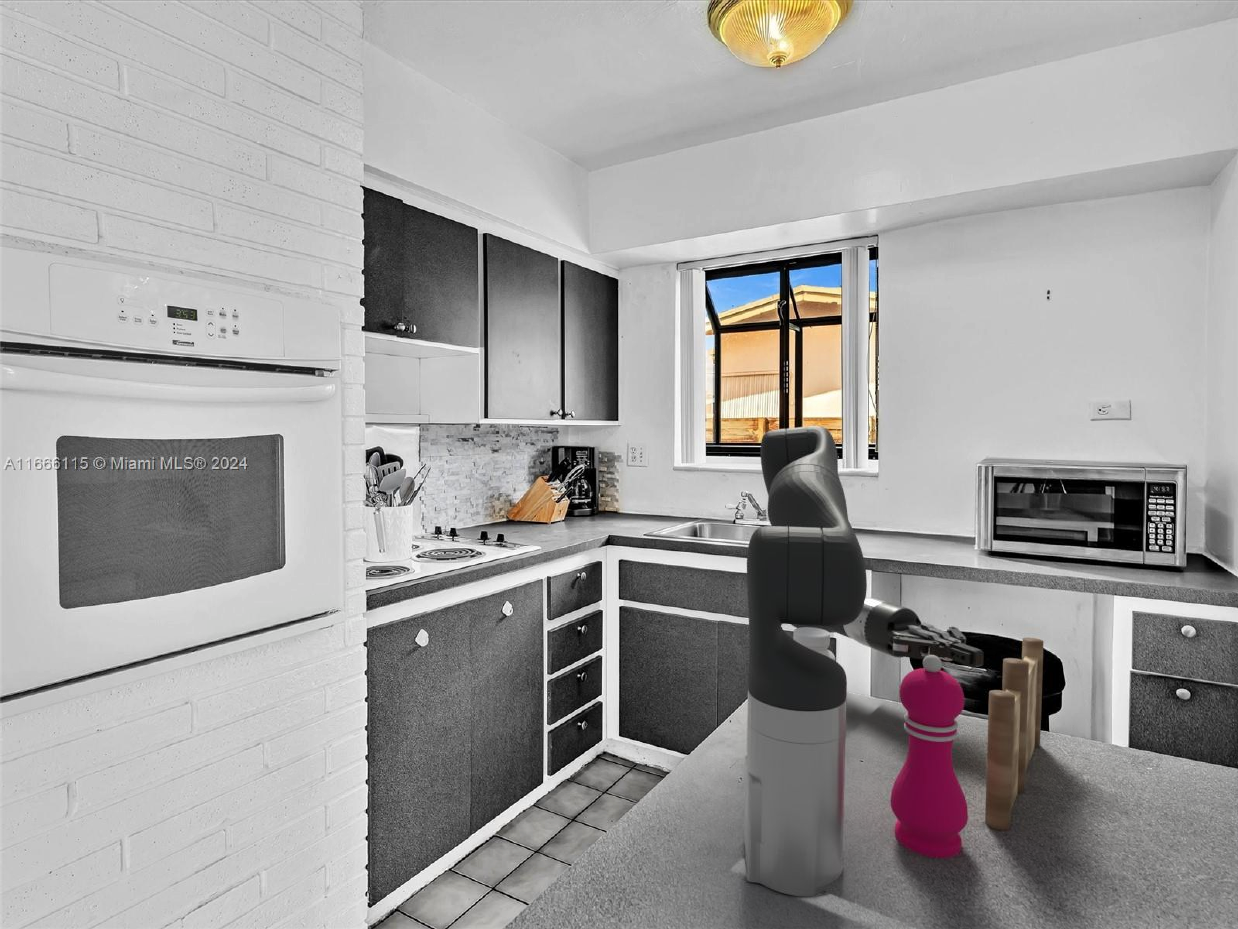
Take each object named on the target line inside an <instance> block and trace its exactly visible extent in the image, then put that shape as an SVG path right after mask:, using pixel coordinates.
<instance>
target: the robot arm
mask: <svg viewBox="0 0 1238 929" xmlns="http://www.w3.org/2000/svg"><path fill="white" fill-rule="evenodd" d="M838 460H839V459H838V449H837V446H836V442H835V439H834V438H833V435H832V433H831V432H830V431H829V430H828V429H827V428H825V427H824V426H818V425H810V426H809V425H808V426H800V427H799V426H798V427H790V428H779V429H772V430H769V431H766V432H765V433H764V434H763V435H762V437H761V442H760V464H761V471H762V477H763V480H764V481H763V482H764V485H765V488H766V492H767V495H768V497H767V498H768V499H767V517H768V521H769V523H770V525H769V526H768V525H767V526H761V527H758V528H756V529H755V530H754V532H753V533H752V534H751V537H750V539H749V542H748V546H747V547H748V548H747V554H746V555H747V556H746V587H747V588H746V589H747V592H746V593H747V607H748V608H747V611H748V642H749V644H748V671H747V672H748V673H747V676H748V677H747V715H746V716H747V720H746V721H747V722H746V724H747V728H746V732H747V734H746V755H745V757H744V794H743V795H744V799H743V801H744V802H743V813H744V814H743V842H744V843H743V845H744V853H745V858H744V862H745V872H746V873H745V874H746V880H747V881H748V882H750V883H758V884H760V885H763V886H765V887H767V888H769V889H771V890H772V891H776V892H779V893H781V894H786V895H791V896H796V897H797V896H798V897H815V896H820V895H824V894H827V893H828V891H826V890H824V889H821V888H822V887H826V886H828V885H830V884H833V883H834V882H835V881H836V880H838V879H839V878H840V876H841V875H842V873H843V870H844V858H845V857H844V856H845V855H844V840H845V839H844V837H845V833H844V832H845V830H844V829H845V790H846V788H845V786H846V785H845V783H846V776H845V775H846V735H847V734H846V732H847V731H846V727H847V695H848V692H847V689H848V688H847V686H848V681H847V680H848V678H847V674H846V671H845V669H844V667H843V666H842V665H841V664H840V663H839V662H838V661H837V660H836V659H835V660H833V659H831V658H830V657H827V656H825V655H823V654H821V653H818V652H816V651H814V650H811V649H809V648H807V647H805V646H803V645H801V644H800V643H798V642H797V641H795V640H794V639H793V637H791V636H790V635H789V634H788V633H787V632H786V631H785V630H784V629H783V627H782V625H783V624H785V625H791V626H792V627H794V628H795V629H796V628H802V627H812V628H819V629H823V630H826V631H828V632H829V633H830V634H831V633H837V634H840V635H841V636H844V637H846V638H848V639H852V640H854V641H856V642H857V643H858V644H860V645H863V646H865V647H868V648H870V649H873V650H876V651H877V652H881V653H884V654H885V655H888V656H891V657H894V658H899V659H900V658H910V659H918V660H923V659H924V658H925V657H926V656H928V655H935V656H937V657H938V658H939V659H940V660H943V661H947V662H951V661H954V662H956V663H960V664H962V665H966V666H968V667H971V668H977V667H982V666H983V665H984V651H983V650H982V649H979V648H977V647H974V646H971V645H967V637H966V636H965V634H963V633H962V631H961V630H960V629H959V628H958V627H956V626H949V627H948V628H947V629H946V631H944V630H943V629H939V628H937V627H935V626H934V625H932V624H930V623H928V622H927V623H926V622H922V621H921V620H920V618H919V616H918V615H917V613H916V612H915V611H914V610H912V609H910V608H908V607H905V606H901V605H898V604H895V603H893V602H892V603H891V602H888V601H885V600H881V599H879V598H874V597H867V589H868V588H867V587H868V585H867V583H868V582H867V581H868V580H867V569H866V562H865V559H864V555H863V550H862V547H861V545H860V543H859V540H858V537H857V535H856V533H855V530H854V529H853V527H852V525H851V523H850V520H849V517H848V516H849V515H848V506H847V499H846V496H845V490H844V488H843V485H842V482H841V479H840V477H839V461H838Z"/></svg>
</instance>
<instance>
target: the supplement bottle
mask: <svg viewBox="0 0 1238 929" xmlns="http://www.w3.org/2000/svg"><path fill="white" fill-rule="evenodd" d="M792 639H794V640H795V641H797V642H798V643H800V644H801V645H803V646H805V647H807V648H809V649H811V650H814V651H816V652H818V653H821V654H823V655H825V656H827V657H830V658H831V659H833V660H835V661H836V657H835V656H836V655H834V653H833V652H832V651H831V650H829V649H828V648H829V647H830V644H831V633H829V632H828V631H826V630H823V629H819V628H812V627H802V628H796V627H795V629H793V637H792Z"/></svg>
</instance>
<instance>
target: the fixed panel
mask: <svg viewBox="0 0 1238 929" xmlns="http://www.w3.org/2000/svg"><path fill="white" fill-rule="evenodd" d="M1002 661H1003V662H1002V690H1000V689H993V690H989V692H988V713H987V714H988V716H987V745H986V746H987V748H986V749H987V751H986V775H985V776H986V778H985V779H986V781H985V782H986V783H985V812H984V813H985V815H984V823H985V824H986V826H988V827H990V828H991V829H994V830H997V831H1000V832H1001V831H1002V832H1003V831H1004V832H1006V831H1010V830H1011V828H1012V826H1011V825H1012V810H1013V807H1014V805H1015V801H1016V799H1017V797H1018V795H1023V794H1024V793H1025V792H1026V791H1025V790H1026V772H1025V769H1026V739H1027V709H1028V679H1029V663H1028V662H1027V661H1024V660H1022V658H1013V657H1008V658H1007V657H1006V658H1003V659H1002Z"/></svg>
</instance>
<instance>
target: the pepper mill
mask: <svg viewBox="0 0 1238 929" xmlns="http://www.w3.org/2000/svg"><path fill="white" fill-rule="evenodd" d="M922 666H923V668H915V669H914V670H912V671H910V672H908V673H907V674H906V675H905V676H903V678H902V680H901V682H900V686H899V692H898V693H899V699H900V702H901V704H902V706H903V708H904V709H905V710H906V713H904V715H903V719H904V724H903V728H904V730H905V731H906V732H907V734H908V752H907V755H906V758H905V761H904V764H903V766H902V768H901V769H900V771H899V773H898V775H897V776H896V778H895V780H894V783H893V785H892V789H891V793H890V807H891V810H892V813H893V814H894V817H895V818H896V819H897V821H896V822H895V825H894V835H895V836H894V837H895V838H896V840H897V841H898V842H899V843H900V844H901V846H903V847H905V848H906V849H908V850H909V851H912V852H914V853H917V854H919V855H922V856H926V857H930V858H937V859H938V858H943V859H944V858H953V857H955V856H957V855H958V854H959V853H960V852H961V851H962V845H963V843H962V841H963V840H962V836H961V835H960V832H961V831H962V830H963V829H964V828H966V826H967V823H968V820H969V815H968V814H969V812H968V805H967V804H968V803H967V801H966V797H965V794H964V790H963V788H962V786H961V784H960V781H959V780H958V778H957V774H956V772H955V768H954V765H953V759H952V758H953V754H952V753H953V751H952V749H953V742H954V740H956V739H957V738H958V736H959V733H958V727H959V722H958V721H957V717H959V715H961V713H962V712H963V710H964V707H965V694H964V691H963V690H964V689H963V688H962V686H961V685H960V682H959V681H958V680H957V679H956V678H955V677H954V676H952V675H951V674H949V673H948V672H945V671H944V670H941V669H942V667H943V662H942V659H940V658H938V657H937V656H935V655H928V656H926V657H925V658H924V659H922Z"/></svg>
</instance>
